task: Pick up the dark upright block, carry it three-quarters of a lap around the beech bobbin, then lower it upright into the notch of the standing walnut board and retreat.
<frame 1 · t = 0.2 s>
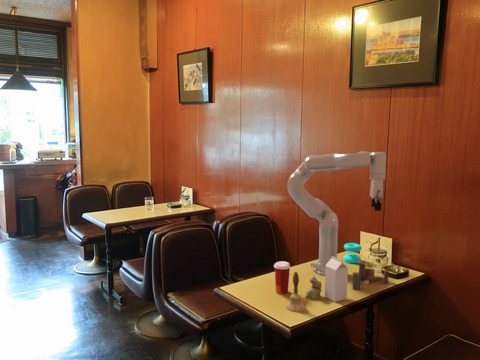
hand: (376, 208, 200), 36 cm above the table, tool pointing down, fingers open, 9 cm apart
milk carton: (335, 298, 178), on the table
dark upright block: (356, 287, 189), on the table
notch board: (373, 280, 198), on the table
bobbin: (361, 282, 196), on the table
hand bell: (295, 308, 169), on the table
donuts: (352, 261, 228), on the table
chocolate bunny: (313, 297, 180), on the table
paper cup: (281, 292, 185), on the table
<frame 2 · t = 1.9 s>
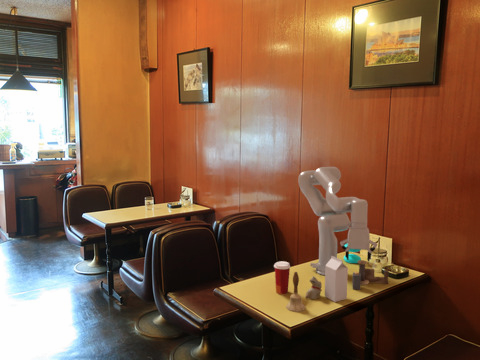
hand: (357, 259, 187), 14 cm above the table, tool pointing down, fingers open, 9 cm apart
nothing on the table moved.
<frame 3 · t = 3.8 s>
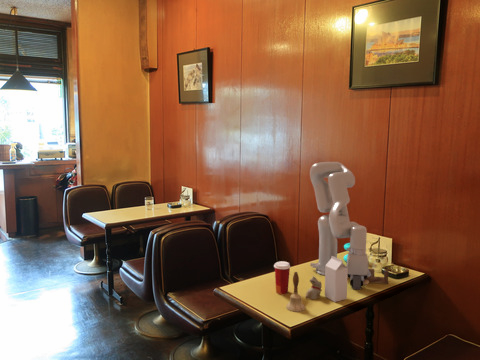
hand: (356, 286, 189), 0 cm above the table, tool pointing down, fingers closed on dark upright block, 3 cm apart
dark upright block: (356, 287, 189), on the table, touching gripper
everything else where it was.
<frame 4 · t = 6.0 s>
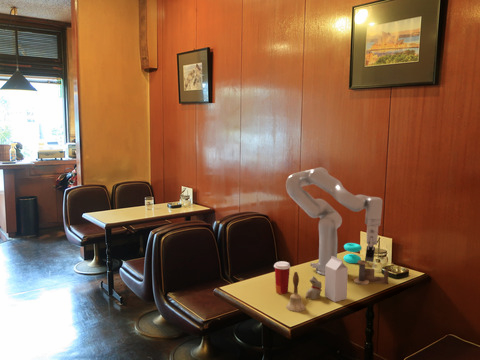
hand: (369, 255, 199), 13 cm above the table, tool pointing down, fingers closed on dark upright block, 3 cm apart
dark upright block: (369, 260, 199), point 10 cm above the table, touching gripper
everything else where it was.
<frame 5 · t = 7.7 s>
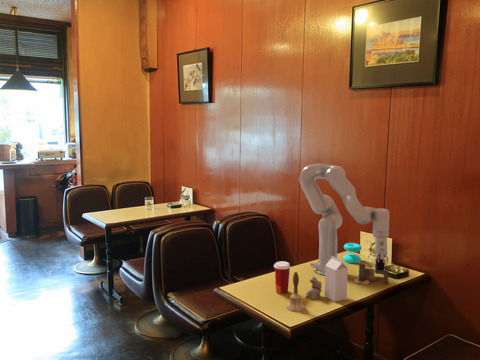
hand: (379, 268, 196), 7 cm above the table, tool pointing down, fingers closed on dark upright block, 3 cm apart
dark upright block: (379, 272, 197), point 5 cm above the table, touching gripper
everything else where it was.
when the fingers open (4 cm above the table, at t = 8.6 s): dark upright block stays where it is, resting on notch board.
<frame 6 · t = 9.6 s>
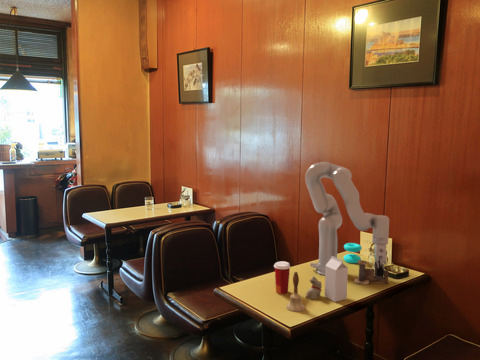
hand: (378, 272, 197), 5 cm above the table, tool pointing down, fingers open, 9 cm apart
dark upright block: (379, 277, 197), point 2 cm above the table, touching notch board
everything else where it was.
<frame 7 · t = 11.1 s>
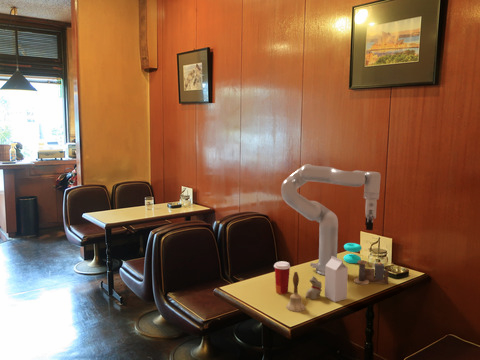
hand: (368, 227, 203), 26 cm above the table, tool pointing down, fingers open, 9 cm apart
nothing on the table moved.
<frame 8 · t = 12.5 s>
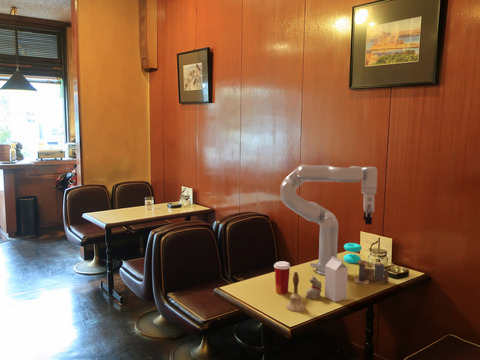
hand: (367, 222, 205), 28 cm above the table, tool pointing down, fingers open, 9 cm apart
nothing on the table moved.
at the end: dark upright block 0.2 cm from the target spot, point 2.0 cm above the table; dark upright block tilted 0°; the gripper is holding nothing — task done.
